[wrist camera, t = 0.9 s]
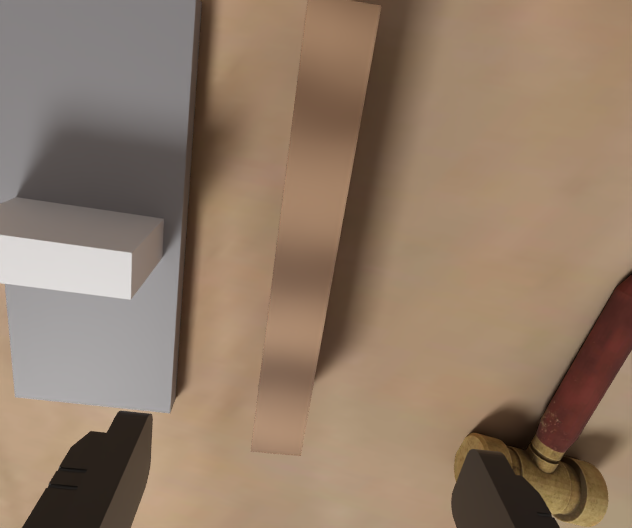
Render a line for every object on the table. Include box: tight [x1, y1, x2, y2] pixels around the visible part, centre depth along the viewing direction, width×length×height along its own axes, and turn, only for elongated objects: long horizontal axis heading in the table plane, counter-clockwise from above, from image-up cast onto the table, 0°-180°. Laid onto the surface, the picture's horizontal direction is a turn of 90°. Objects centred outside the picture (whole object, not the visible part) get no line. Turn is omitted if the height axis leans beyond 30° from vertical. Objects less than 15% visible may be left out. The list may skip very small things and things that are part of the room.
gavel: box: [454, 274, 632, 527], centre depth 32 cm, size 21×5×10 cm
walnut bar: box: [251, 0, 381, 456], centre depth 26 cm, size 24×3×6 cm, turn 171°
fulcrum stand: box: [0, 0, 202, 413], centre depth 24 cm, size 25×10×7 cm, turn 170°
